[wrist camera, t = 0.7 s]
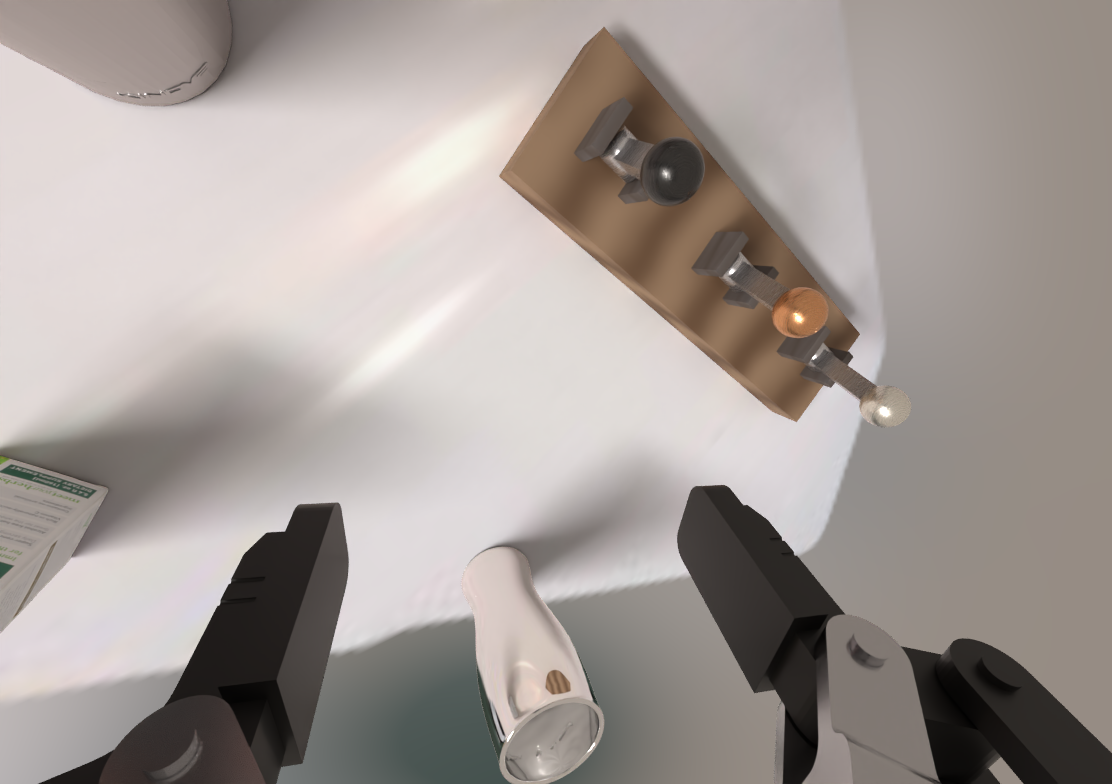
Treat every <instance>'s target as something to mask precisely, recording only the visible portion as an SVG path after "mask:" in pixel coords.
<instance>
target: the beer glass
mask: <svg viewBox="0 0 1112 784" xmlns="http://www.w3.org/2000/svg"><path fill="white" fill-rule="evenodd" d="M461 587H462V591H463V594H464V596H465V598H466V600H467V602H468V604H469V605H470V607H471V610H472V612H473V615H474V620H475V631H476V666H477V678H478V687H479V692H480V698H481V703H482V707H483V711H484V715H485V719H486V723H487V726H488V729H489V733H490V736H491V739H492V742H493V745H494V748H495V751H496V755H497V757H498V761H499V766H500V770H501V773H502V774H503V776H504V777H505V779H507V780H508V781H509V782H511V783H512V784H548V783H550V782H553V781H556V780H558V779H560V778H562V777H564V776H565V775H567V774H569V773H570V772H572V771H573V770H575V769H576V768H577V767H578V766H580V765H581V764H582V763H583V762H584V761H585V760H586V759H587V758H588V757H589V756H590V754H591V753H592V752H593V751H594V749H595V748H596V746H597V745H598V743H599V741H600V739H601V736H602V733H603V729H604V716H603V713H602V711H601V709H600V707H599V704H598V702H597V699H596V697H595V694H594V691H593V688H592V686H591V683H590V680H589V678H588V675H587V673H586V670H585V668H584V666H583V664H582V661H581V659H580V657H579V654H578V652H577V650H576V649H575V647H574V645H573V643H572V641H571V639H570V637H569V636H568V634H567V633H566V631H565V630H564V628H563V627H562V625H561V624H560V623H559V621H558V620H557V618H556V617H555V616H554V614H553V613H552V612H551V611H550V609H549V608H548V607H547V605H546V604H545V603H544V602H543V600H542V599H541V597H540V596H539V595H538V593H537V591H536V589H535V587H534V584H533V581H532V577H531V571H530V566H529V562H528V560H527V558H526V557H525V555H524V554H523V553H522V552H520V551H519V550H517V549H515V548H512V547H505V546H502V547H494V548H491V549H488V550H486V551H484V552H482V553H480V554H479V555H477V556H476V557H475V558H474V559H472V560H471V562H470V563H469V564H468V565H467V567H466V568H465V570H464V573H463V575H462V581H461Z"/></svg>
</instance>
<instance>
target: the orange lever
mask: <svg viewBox="0 0 1112 784" xmlns="http://www.w3.org/2000/svg"><path fill="white" fill-rule="evenodd" d="M719 278H720V279H721V280H722V281H723V282H724V283H725V284H726V285H727V286H728V287H729V288H730V289H731V290H732V291H733V292H742V291H745V292H746V293H747V294H749V295H750V296H752V297H753V298H754V299H756V300H757V301H759V302H760V303H761V304H763V305H764V306H766V307H767V308H768V309H770V310H771V311H772V321H773V323H774V326H775V327H776V328H777V330H778V331H779V332H781V333H782V334H784V335H785V336H788V337H792V338H804V337H808V336H811V335H813V334H815V333H816V332H818V331H819V330H820V329H821V328H822V327H823V326H824V324H825V323H826V321H827V318H828V314H829V308H828V304H827V301H826V299H825V298H824V296H823V295H822V294H821V293H819V292H818V291H816V290H814V289H811V288H807V287H798V288H794V289H791V290H790V289H789V288H787V287H785V286H784V285H782V284H780V283H779V282H777V281H775V280H774V279H772V278H770V277H769V276H767V275H765V274H764V273H762V272H760V271H759V270H757V269H755V267H754V266H753V265H752V264H751V263H750V262H749V261H748V260H747V259H746V258H745V256H744V255H743V254H742V253H741V252H740V253H739V254H738V256H737V257H736V258H735V260H734V261H733V263H732V264H731V266H730V267H729V269H728V270H727V271H726V273H725V274H724V276H723V277H719Z"/></svg>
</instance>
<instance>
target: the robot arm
mask: <svg viewBox="0 0 1112 784" xmlns="http://www.w3.org/2000/svg"><path fill="white" fill-rule="evenodd" d="M231 37H232V22H231V16H230V11H229V5H228V0H0V44H2V45H4V46H6V47H8V48H10V49H12V50H14V51H16V52H18V53H20V54H22V55H24V56H25V57H27V58H29V59H31V60H33V61H35V62H37V63H39V64H41V65H43V66H45V67H47V68H49V69H51V70H53V71H54V72H56V73H58V74H60V75H62V76H64V77H66V78H68V79H70V80H72V81H74V82H76V83H78V84H79V85H81V86H83V87H85V88H87V89H89V90H91V91H93V92H95V93H98V94H101V95H103V96H106V97H109V98H112V99H114V100H117V101H120V102H126V103H131V104H136V105H142V106H167V105H171V104H176V103H180V102H185V101H187V100H189V99H191V98H193V97H195V96H197V95H199V94H201V93H203V92H204V91H205V90H206V89H207V88H208V87H209V86H211V85H212V84H213V83H214V82H215V81H216V80H217V78H218V77H219V75H220V73H221V72H222V70H223V68H224V67H225V65H226V62H227V59H228V55H229V51H230V48H231ZM677 543H678V549H679V553H680V556H681V558H682V560H683V562H684V564H685V566H686V568H687V569H688V571H689V573H690V575H691V577H692V579H693V581H694V582H695V584H696V586H697V588H698V590H699V592H700V593H701V595H702V597H703V599H704V601H705V603H706V604H707V606H708V608H709V610H710V612H711V614H712V616H713V618H714V619H715V621H716V623H717V625H718V627H719V629H720V630H721V632H722V634H723V636H724V638H725V640H726V641H727V643H728V645H729V647H730V649H731V651H732V653H733V655H734V656H735V658H736V660H737V662H738V664H739V666H740V668H741V669H742V671H743V673H744V675H745V677H746V679H747V680H748V682H749V684H750V686H751V688H752V690H753V691H754V693H758V692H764V691H770V690H776V692H777V694H778V695H779V697H780V699H781V702H780V704H779V706H778V710H777V727H776V748H775V771H774V784H1000V783H999V782H998V780H997V779H996V778H995V777H994V775H993V774H992V773H991V772H990V770H989V769H988V768H989V767H990V766H991V765H992V764H993V763H994V762H996V761H997V760H998V759H999V758H1000V757H1002V758H1003V760H1004V761H1005V762H1006V763H1007V764H1008V766H1009V767H1010V768H1011V769H1012V770H1013V772H1014V773H1015V774H1016V775H1017V776H1018V778H1019V779H1020V780H1021V781H1022V782H1023V783H1024V784H1112V753H1111V752H1110V751H1109V750H1108V749H1107V748H1106V747H1105V746H1104V745H1103V744H1102V743H1101V742H1100V741H1099V740H1098V739H1097V738H1096V737H1095V736H1094V735H1093V734H1091V733H1090V732H1089V731H1088V730H1087V729H1086V728H1085V727H1084V726H1083V725H1082V724H1081V723H1080V722H1079V721H1078V720H1077V719H1076V718H1075V717H1074V716H1073V715H1072V714H1071V713H1070V712H1069V711H1068V710H1067V709H1066V708H1065V707H1064V706H1063V705H1062V704H1061V703H1060V702H1059V701H1058V700H1057V699H1056V698H1055V697H1054V696H1053V695H1052V694H1051V693H1050V692H1049V691H1048V690H1046V689H1045V688H1044V687H1043V686H1042V685H1041V684H1040V683H1039V682H1038V681H1037V680H1036V679H1035V678H1034V677H1033V676H1032V675H1031V674H1030V673H1029V672H1028V671H1027V670H1026V669H1024V667H1022V666H1021V665H1020V664H1019V663H1017V662H1016V661H1015V660H1014V659H1012V658H1011V657H1009V656H1008V655H1006V654H1005V653H1003V652H1001V651H1000V650H998V649H996V648H994V647H992V646H990V645H988V644H985V643H983V642H980V641H976V640H972V639H957V640H955V641H953V643H952V644H951V645H950V646H949V647H948V649H947V650H946V651H945V652H944V654H943V655H940V654H935V653H931V652H926V651H921V650H916V649H911V648H906V647H901V646H900V645H899V644H898V643H897V642H896V641H895V640H894V639H893V638H892V637H891V636H890V635H889V634H887V633H886V632H885V631H884V630H882V629H881V628H879V627H878V626H876V625H874V624H873V623H871V622H869V621H867V620H865V619H862V618H859V617H857V616H852V615H845V614H844V612H843V611H842V610H841V609H840V608H839V606H838V605H837V604H836V603H835V601H833V599H832V598H831V597H830V595H829V594H828V593H827V592H826V591H825V589H824V588H823V587H822V586H821V585H820V583H819V582H818V581H817V580H816V578H815V577H814V576H813V575H812V573H811V572H810V571H809V570H808V569H807V567H806V566H805V565H804V564H803V563H802V561H801V560H800V559H799V558H798V556H795V555H794V552H793V550H792V549H791V548H790V547H789V545H788V544H787V543H786V542H785V541H782V537H781V536H780V534H779V533H778V532H777V531H776V530H775V528H774V527H773V526H772V525H771V524H770V522H769V521H768V520H767V519H766V518H764V517H763V516H762V515H760V514H759V513H758V512H756V511H755V510H753V509H752V508H751V507H749V506H748V505H743V504H742V503H741V502H740V501H739V499H738V498H737V497H736V496H735V494H734V493H733V492H732V490H731V489H730V488H729V487H727V486H725V485H714V486H696V487H694V488H693V489H692V490H691V492H690V495H689V498H688V501H687V504H686V507H685V511H684V514H683V517H682V520H681V524H680V527H679V530H678V535H677ZM348 566H349V559H348V550H347V543H346V537H345V530H344V523H343V517H342V510H341V506H340V504H339V503H319V504H300V505H298V506H297V507H296V508H295V510H294V512H293V515H292V517H291V519H290V521H289V524H288V526H287V528H286V531H285V532H270V533H266V534H265V535H264V536H263V537H262V538H260V539H259V540H258V541H257V542H256V543H255V544H254V545H253V546H252V547H251V548H250V549H249V550H248V551H247V552H246V553H245V554H244V555H243V557H242V559H241V561H240V563H239V565H238V567H237V569H236V571H235V573H234V575H233V577H232V579H231V584H229V585H228V587H227V588H226V590H225V592H224V594H223V596H222V598H221V603H220V606H217V608H216V610H215V612H214V614H213V616H212V618H211V620H210V622H209V624H208V626H207V628H206V630H205V632H204V634H203V635H202V637H201V639H200V641H199V643H198V645H197V647H196V649H195V651H194V653H193V655H192V657H191V659H190V661H189V663H188V665H187V667H186V669H185V671H184V673H183V675H182V677H181V679H180V681H179V683H178V684H177V686H176V688H175V690H174V692H173V694H172V695H171V697H170V699H169V700H168V702H167V703H166V704H165V706H164V707H162V708H161V709H159V710H157V711H156V712H154V713H153V714H151V715H150V716H148V717H147V718H145V719H144V720H143V721H142V722H141V723H139V724H138V725H137V726H136V727H134V728H133V729H132V730H131V731H130V732H129V733H128V734H127V735H126V736H125V737H124V739H123V740H122V741H121V742H120V743H119V744H118V746H117V747H116V748H115V750H113V751H111V752H109V753H108V754H106V755H104V756H102V757H100V758H98V759H96V760H94V761H92V762H89V763H87V764H85V765H82V766H80V767H77V768H75V769H73V770H71V771H68V772H66V773H63V774H61V775H58V776H56V777H53V778H51V779H49V780H46V781H44V782H42V783H39V784H276V783H277V779H278V776H279V772H280V769H281V767H283V766H290V765H296V764H302V763H303V759H304V755H305V751H306V747H307V743H308V739H309V735H310V731H311V726H312V723H313V718H314V715H315V710H316V707H317V702H318V698H319V694H320V690H321V686H322V682H323V678H324V674H325V670H326V666H327V662H328V658H329V654H330V650H331V645H332V641H333V637H334V633H335V629H336V625H337V621H338V617H339V613H340V609H341V605H342V601H343V597H344V593H345V588H346V584H347V578H348Z"/></svg>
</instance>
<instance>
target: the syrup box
mask: <svg viewBox="0 0 1112 784" xmlns="http://www.w3.org/2000/svg"><path fill="white" fill-rule="evenodd" d="M107 492H108V488H107V487H104V486H100V485H94V484H91V483H88V482H84V481H80V480H78V479H75V478H72V477H69V476H66V475H63V474H60V473H56V472H53V471H50V470H46V469H43V468H40V467H36V466H33V465H30V464H26V463H23V462H20V461H16V460H13V459H9V458H6V457H3V456H0V633H1V632H2V631H3V630H4V629H5V628H6V627H7V626H8V625H9V624H10V623H11V622H12V621H13V620H14V618H15V617H16V616H17V615H18V614H19V613H20V612H21V611H22V610H23V609H24V608H25V607H26V606H27V605H28V604H29V603H30V602H31V601H32V600H33V599H34V597H35V596H36V595H37V594H38V593H39V592H40V591H41V590H42V589H43V588H44V587H45V586H46V585H47V584H48V583H49V582H50V580H51V579H52V578H53V577H54V576H55V575H56V574H57V573H58V572H59V571H60V570H61V569H62V568H63V567H64V566H65V565H66V563H67V562H68V561H69V560H70V558H71V556H72V554H73V553H74V551H75V549H76V547H77V546H78V544H79V542H80V540H81V538H82V537H83V535H84V533H85V531H86V530H87V528H88V526H89V524H90V523H91V521H92V519H93V517H94V516H95V514H96V512H97V510H98V509H99V507H100V505H101V503H102V501H103V500H104V498H105V496H106V494H107Z"/></svg>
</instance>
